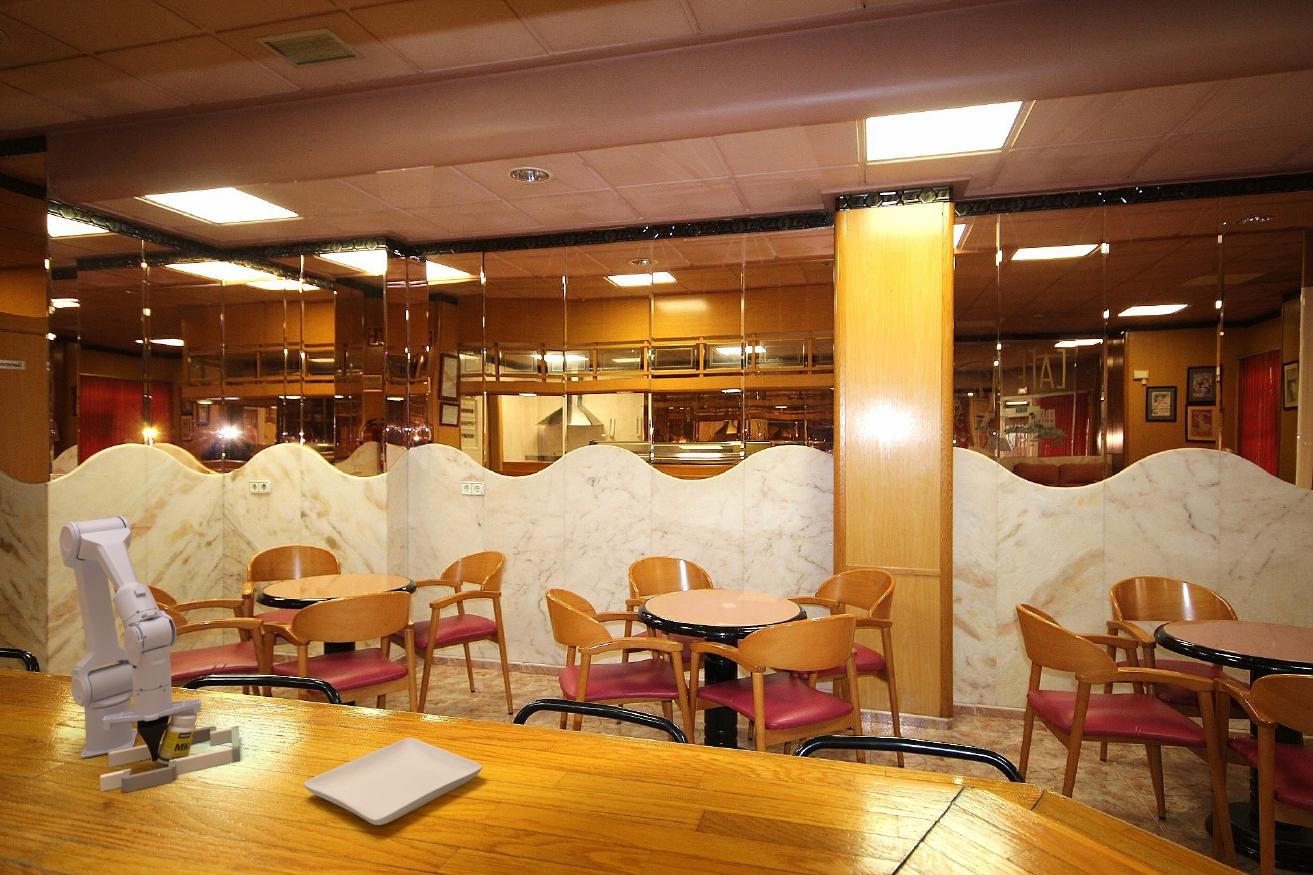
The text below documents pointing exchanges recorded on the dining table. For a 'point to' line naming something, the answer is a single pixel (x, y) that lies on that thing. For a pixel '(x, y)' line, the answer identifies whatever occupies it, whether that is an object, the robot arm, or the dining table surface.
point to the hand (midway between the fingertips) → (155, 758)
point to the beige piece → (175, 765)
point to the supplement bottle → (177, 737)
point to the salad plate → (393, 780)
